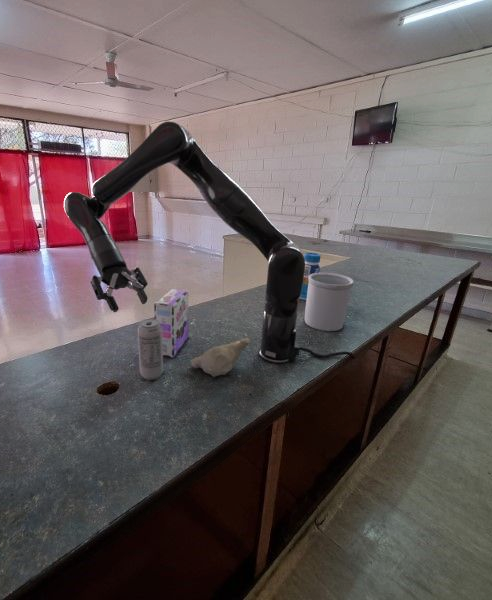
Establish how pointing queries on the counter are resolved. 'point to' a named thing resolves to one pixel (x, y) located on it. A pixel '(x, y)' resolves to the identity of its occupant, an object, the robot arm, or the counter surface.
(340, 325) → the utensil holder
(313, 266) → the beverage bottle
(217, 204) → the robot arm
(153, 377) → the energy drink can
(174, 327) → the candy box
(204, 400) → the counter surface
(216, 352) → the beige lumpy piece
